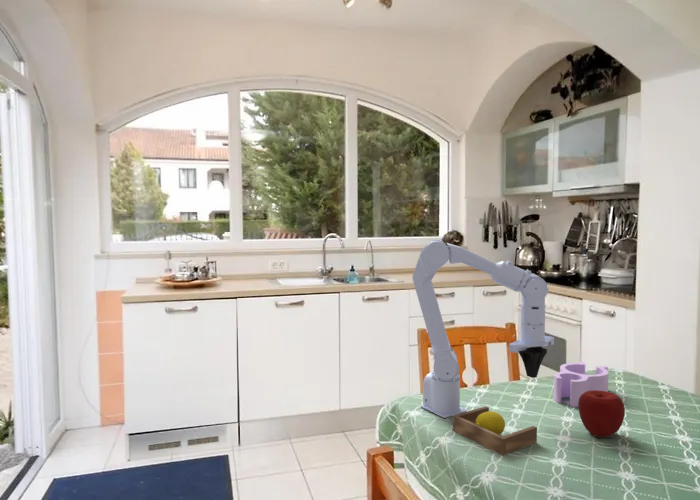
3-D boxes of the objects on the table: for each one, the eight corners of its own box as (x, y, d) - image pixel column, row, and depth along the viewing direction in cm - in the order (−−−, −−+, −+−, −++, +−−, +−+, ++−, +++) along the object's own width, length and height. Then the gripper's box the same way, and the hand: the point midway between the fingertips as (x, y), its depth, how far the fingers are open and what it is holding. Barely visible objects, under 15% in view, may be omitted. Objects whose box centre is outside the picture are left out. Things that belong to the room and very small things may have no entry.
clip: (588, 411, 131) (589, 385, 131) (541, 399, 140) (542, 374, 140) (616, 392, 145) (616, 368, 145) (571, 382, 154) (572, 359, 154)
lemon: (515, 422, 115) (488, 425, 111) (506, 440, 117) (479, 444, 113) (500, 404, 119) (474, 407, 116) (491, 422, 122) (465, 425, 118)
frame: (452, 430, 120) (452, 415, 120) (485, 420, 126) (485, 406, 125) (502, 455, 107) (502, 439, 107) (536, 442, 113) (537, 427, 113)
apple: (580, 422, 124) (581, 382, 123) (624, 430, 119) (626, 388, 118) (575, 437, 116) (576, 394, 115) (623, 446, 111) (624, 401, 110)
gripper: (526, 329, 120) (525, 386, 121) (565, 322, 128) (563, 375, 128) (503, 324, 126) (502, 378, 127) (541, 317, 133) (540, 368, 134)
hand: (531, 376), depth 128 cm, fingers closed
